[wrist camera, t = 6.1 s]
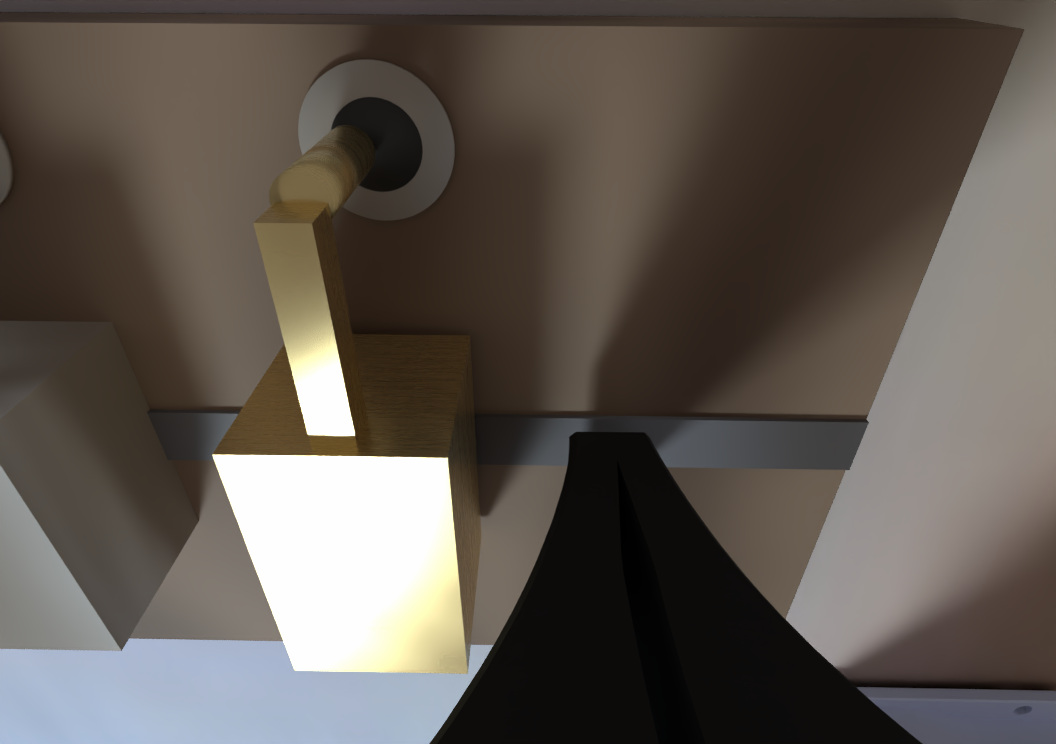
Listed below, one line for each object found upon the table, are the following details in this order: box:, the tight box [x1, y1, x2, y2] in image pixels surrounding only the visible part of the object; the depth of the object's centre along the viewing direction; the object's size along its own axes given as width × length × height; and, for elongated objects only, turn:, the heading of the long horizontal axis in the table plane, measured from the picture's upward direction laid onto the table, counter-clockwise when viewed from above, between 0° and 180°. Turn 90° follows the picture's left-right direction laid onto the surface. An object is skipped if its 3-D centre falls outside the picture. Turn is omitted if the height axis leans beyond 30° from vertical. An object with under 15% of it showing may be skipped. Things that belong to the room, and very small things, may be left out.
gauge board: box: [0, 12, 1024, 651], centre depth 11 cm, size 18×14×4 cm
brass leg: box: [212, 125, 481, 674], centre depth 9 cm, size 3×8×3 cm, turn 0°
